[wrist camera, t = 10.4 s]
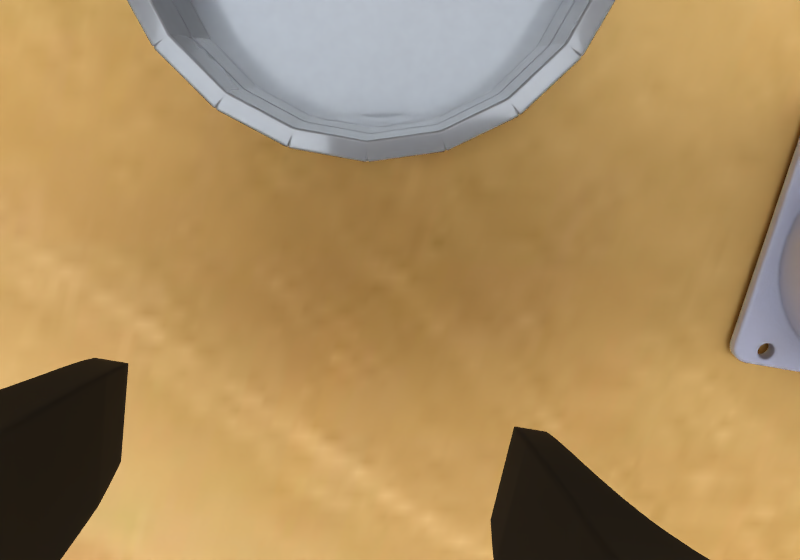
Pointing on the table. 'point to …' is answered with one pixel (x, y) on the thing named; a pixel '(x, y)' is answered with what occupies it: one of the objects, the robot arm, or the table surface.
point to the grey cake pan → (371, 65)
